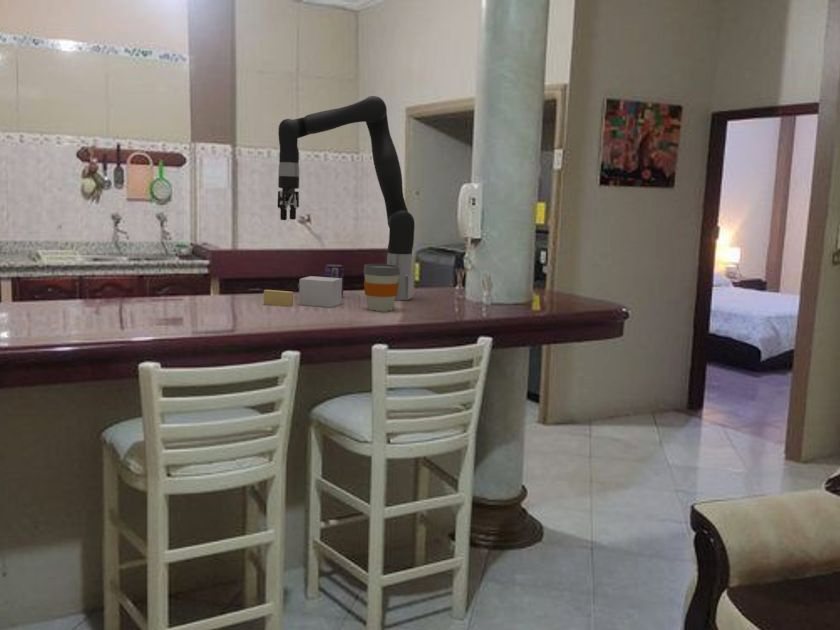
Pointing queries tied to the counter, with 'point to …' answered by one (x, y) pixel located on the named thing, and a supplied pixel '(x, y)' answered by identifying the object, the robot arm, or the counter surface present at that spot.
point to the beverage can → (334, 272)
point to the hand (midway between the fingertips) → (288, 219)
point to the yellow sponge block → (278, 298)
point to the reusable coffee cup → (381, 286)
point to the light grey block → (320, 291)
